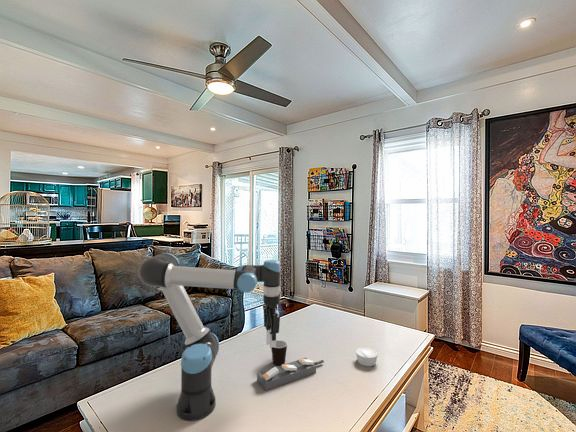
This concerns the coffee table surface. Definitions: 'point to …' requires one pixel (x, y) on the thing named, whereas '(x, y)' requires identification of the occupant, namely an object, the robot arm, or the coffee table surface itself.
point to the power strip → (287, 374)
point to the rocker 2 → (289, 367)
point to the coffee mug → (279, 353)
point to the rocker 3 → (306, 361)
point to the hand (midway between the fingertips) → (271, 345)
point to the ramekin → (366, 356)
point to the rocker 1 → (270, 373)
